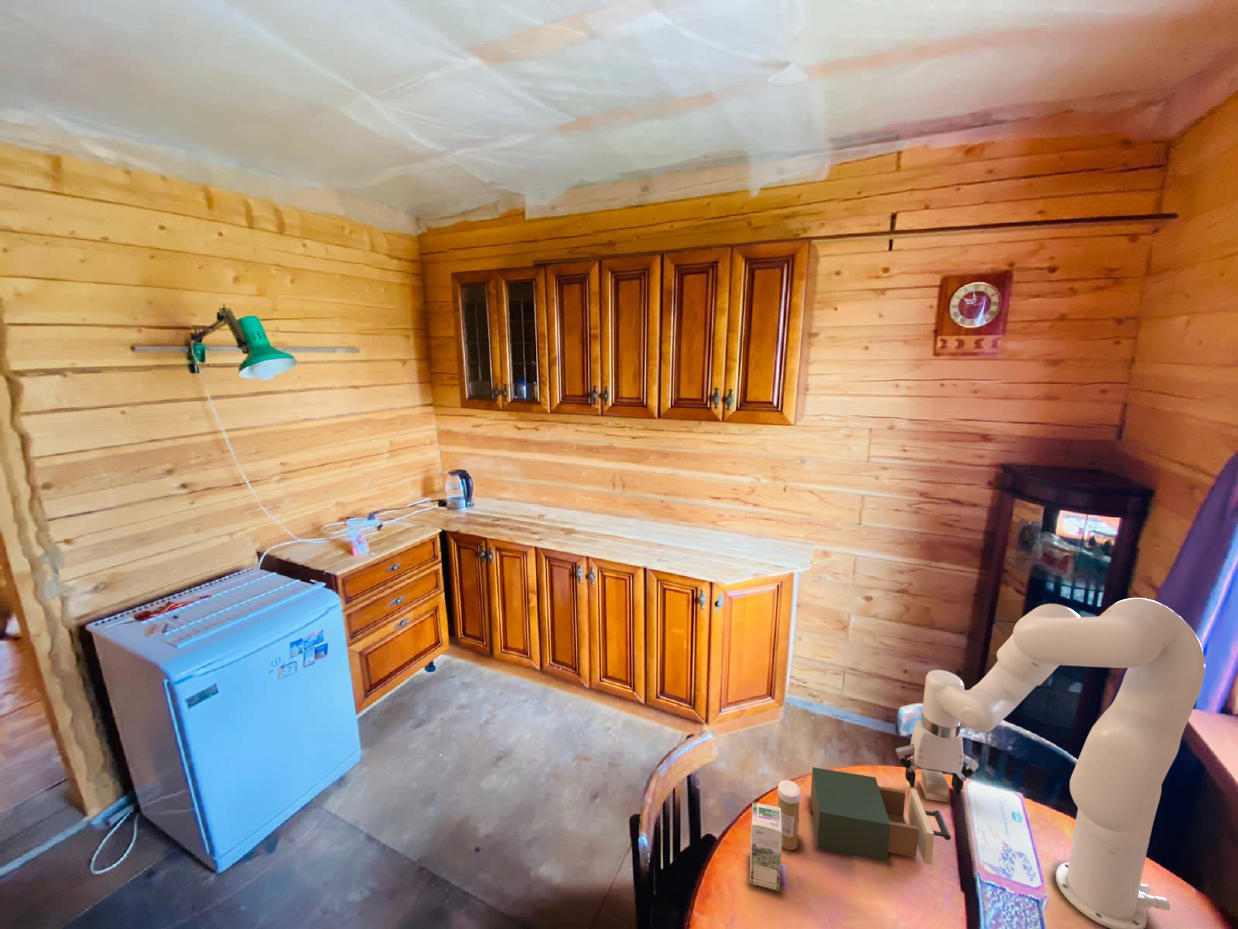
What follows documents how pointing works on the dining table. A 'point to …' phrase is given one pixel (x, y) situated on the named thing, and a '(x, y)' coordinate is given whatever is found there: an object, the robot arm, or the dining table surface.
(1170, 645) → the robot arm
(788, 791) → the spice jar
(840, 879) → the dining table surface
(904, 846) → the drawer
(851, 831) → the cabinet
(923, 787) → the block
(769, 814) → the syrup box
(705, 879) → the dining table surface
